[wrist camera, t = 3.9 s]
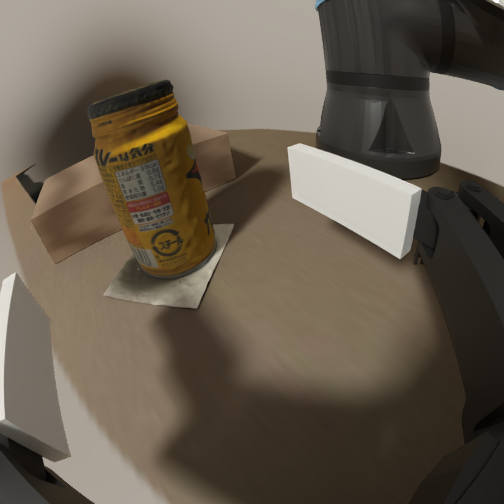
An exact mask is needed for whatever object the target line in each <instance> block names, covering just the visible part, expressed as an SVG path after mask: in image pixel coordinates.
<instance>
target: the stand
mask: <svg viewBox="0 0 504 504" xmlns="http://www.w3.org/2000/svg"><path fill="white" fill-rule="evenodd" d="M187 124H188V128H189V131H190V134H191V140H192V144H193V146H194V152H195V157H196V160H197V165H198V169H199V173H200V176H201V181H202V185H203V189H204V192H205V191H208V190H210V189H212V188H215V187H217V186H220V185H222V184H225V183H227V182H230V181H232V180H235V179H236V175H235V170H234V165H233V160H232V154H231V149H230V144H229V139H228V134H227V133H225V132H221V131H217V130H213V129H210V128H206V127H202V126H198V125H194V124H190V123H187ZM31 221H32V223H33V225H34V227H35V229H36V231H37V233H38V235H39V237H40V238H41V240H42V242H43V244H44V246H45V247H46V249H47V251H48V252H49V254H50V256H51V258H52V259H53V261H54V263H55V264H56V263H58V262H60V261H62V260H63V259H65V258H67V257H69V256H71V255H73V254H75V253H76V252H78V251H80V250H82V249H84V248H86V247H88V246H90V245H92V244H93V243H95V242H97V241H99V240H101V239H103V238H105V237H107V236H109V235H111V234H113V233H115V232H117V231H119V230H121V229H122V227H121V225H120V222H119V220H118V217H117V215H116V213H115V210H114V208H113V206H112V203H111V201H110V198H109V196H108V193H107V191H106V188H105V185H104V183H103V180H102V177H101V175H100V172H99V169H98V167H97V164H96V161H95V159H94V156H91V157H89V158H87V159H85V160H83V161H81V162H79V163H77V164H75V165H73V166H71V167H69V168H67V169H65V170H63V171H61V172H59V173H57V174H55V175H54V176H52V177H50V178H48V179H46V180H45V182H44V185H43V187H42V190H41V193H40V195H39V198H38V201H37V203H36V206H35V209H34V212H33V215H32V218H31Z"/></svg>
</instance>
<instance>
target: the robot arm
mask: <svg viewBox="0 0 504 504" xmlns="http://www.w3.org/2000/svg"><path fill="white" fill-rule="evenodd" d="M315 8H316V11H318V12H319V18H320V26H321V34H322V42H323V49H324V60H325V69H326V78H327V93H326V97H325V101H324V105H323V111H322V116H321V123H320V126H319V127H318V129H317V132H316V148H313V147H310V146H307V145H303V144H300V143H299V144H296V145H293V146H290V147H287V148H288V157H289V167H290V177H291V187H292V198H294V199H296V200H298V201H300V202H301V203H303V204H305V205H307V206H309V207H311V208H313V209H314V210H316V211H318V212H320V213H322V214H324V215H325V216H327V217H329V218H331V219H333V220H334V221H336V222H338V223H340V224H342V225H343V226H345V227H347V228H349V229H350V230H352V231H354V232H355V233H357V234H359V235H361V236H362V237H364V238H366V239H367V240H369V241H371V242H372V243H374V244H376V245H378V246H379V247H381V248H382V249H384V250H386V251H387V252H389V253H391V254H392V255H394V256H396V257H397V258H399V259H401V258H402V257H404V256H405V255H406V254H407V253H408V252H409V251H410V250H411V245H412V241H413V238H415V239H417V240H418V245H417V249H416V254H415V258H414V265H415V264H417V261H418V258H419V257H421V261H420V264H424V265H425V267H426V270H427V272H428V274H429V277H430V279H431V282H432V284H433V287H434V290H435V292H436V295H437V298H438V300H439V303H440V306H441V309H442V311H443V314H444V317H445V320H446V323H447V326H448V329H449V333H450V336H451V339H452V342H453V346H454V349H455V353H456V356H457V360H458V364H459V368H460V372H461V376H462V380H463V384H464V389H465V393H466V402H465V405H464V408H463V411H462V428H463V435H464V444H465V445H464V446H462V447H461V448H459V449H458V450H456V451H454V452H453V453H451V454H449V455H447V456H445V457H443V459H442V460H441V461H440V462H439V463H438V464H437V466H436V467H435V468H434V469H433V470H432V471H431V472H430V474H429V475H428V476H427V477H426V478H425V479H424V480H423V481H422V483H421V484H420V486H419V488H418V489H417V491H416V492H415V494H414V495H413V497H412V499H411V500H410V502H409V503H408V504H504V203H502V202H501V201H500V200H499V199H498V198H496V197H495V196H494V195H493V194H491V193H490V192H489V191H488V190H486V189H485V188H484V187H482V186H481V185H479V184H478V183H476V182H474V181H471V180H468V181H461V183H460V187H459V192H458V193H454V192H453V191H450V190H448V189H445V188H441V187H432V188H430V189H429V190H428V192H426V191H424V190H422V189H421V188H419V187H417V186H415V185H412V184H410V183H408V182H406V181H403V180H401V179H411V178H419V177H424V176H427V175H430V174H432V173H434V172H436V171H437V170H438V168H439V165H440V157H441V143H440V138H439V134H438V129H437V125H436V121H435V117H434V113H433V109H432V105H431V102H430V96H429V75H430V72H432V73H438V74H443V75H449V76H453V77H458V78H462V79H467V80H471V81H475V82H479V83H483V84H486V85H490V86H492V87H494V88H496V89H499V90H504V0H316V4H315ZM480 216H481V217H482V218H483V219H484V220H485V222H484V225H483V228H482V227H481V226H480V224H479V220H480ZM42 457H44V458H46V459H48V460H51V461H53V462H57V461H60V460H63V459H65V458H68V457H71V455H70V451H69V447H68V443H67V439H66V435H65V431H64V427H63V422H62V417H61V412H60V407H59V401H58V396H57V389H56V382H55V375H54V366H53V357H52V345H51V328H50V318H49V317H48V315H47V314H46V313H45V312H44V310H43V309H42V308H41V306H40V305H39V304H38V302H37V301H36V300H35V298H34V297H33V296H32V294H31V293H30V292H29V290H28V289H27V287H26V286H25V284H24V283H23V282H22V280H21V279H20V277H19V276H18V274H17V273H16V272H15V273H14V274H12V275H10V276H9V277H7V278H6V279H4V280H3V284H2V288H1V292H0V504H94V503H93V502H91V501H90V500H89V499H87V498H86V497H85V496H83V495H82V494H81V493H79V492H78V491H77V490H75V489H74V488H73V487H71V486H70V485H69V484H68V483H67V482H65V481H64V480H63V479H62V478H61V477H59V476H58V475H57V474H56V473H55V472H54V471H52V470H51V469H49V468H48V467H46V466H44V463H43V459H42Z"/></svg>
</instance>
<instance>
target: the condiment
mask: <svg viewBox="0 0 504 504" xmlns="http://www.w3.org/2000/svg"><path fill="white" fill-rule="evenodd" d="M172 90H173V86H172V85H171V83H170V81H168V80H161V81H157V82H153V83H150V84H147V85H142V86H140V87H136V88H133V89H130V90H127V91H124V92H122V93H119V94H116V95H113V96H111V97H107V98H105V99H103V100H101V101H98V102H96V103H94V104H92V105H90V106H89V108H88V115H87V116H88V118H89V119H90V122H91V124H92V134H93V137H95V139H96V141H95V151H94V159H95V161H96V164H97V167H98V169H99V172H100V175H101V177H102V180H103V183H104V185H105V188H106V191H107V193H108V196H109V198H110V201H111V203H112V206H113V208H114V210H115V213H116V215H117V217H118V220H119V222H120V225H121V227H122V229H123V231H124V234H125V236H126V238H127V240H128V242H129V245H130V247H131V249H132V251H133V253H134V254H133V255H132V256H131V258H130V259H129V260H128V261H127V262H126V263H125V265H124V267H123V268H122V270H121V271H120V273H119V274H118V276H117V277H116V278H115V280H114V281H113V282H112V283H111V284H110V285H109V287H108V289H107V290H106V292H105V293H104V295H105V296H110V297H113V298H118V299H123V300H130V301H134V302H141V303H149V304H152V305H168V306H172V307H186V308H195V309H197V308H198V305H199V303H200V300H201V298H202V295H203V293H204V292H205V289H206V286H207V283H208V282H209V280H210V277H211V276H212V272H213V270H214V269H215V266H216V265H217V262H218V261H219V259H220V257H221V255H222V252H223V250H224V248H225V245H226V243H227V241H228V239H229V236H230V234H231V232H232V230H233V227H234V224H219V225H218V224H212V219H211V214H210V212H209V207H208V203H207V200H206V196H205V192H204V189H203V185H202V181H201V176H200V173H199V169H198V165H197V160H196V157H195V152H194V146H193V144H192V140H191V134H190V131H189V128H188V124H187V121H186V120H184V119H183V118H182V117H181V116H180V115H178V112H177V110H178V103H177V102H176V99H175V98H174V93H173V92H172ZM137 268H139V270H137ZM181 279H185V280H184V281H181ZM177 282H180V283H179V284H177V285H175V283H177Z"/></svg>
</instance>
